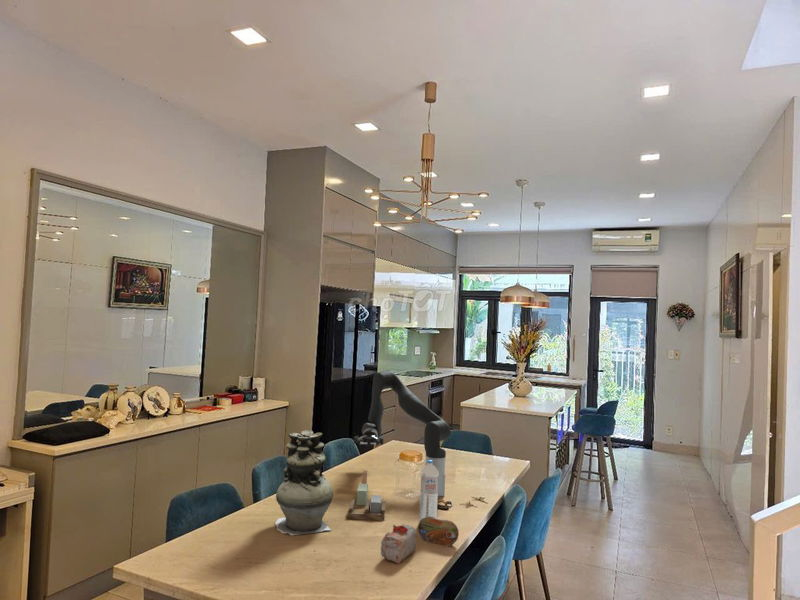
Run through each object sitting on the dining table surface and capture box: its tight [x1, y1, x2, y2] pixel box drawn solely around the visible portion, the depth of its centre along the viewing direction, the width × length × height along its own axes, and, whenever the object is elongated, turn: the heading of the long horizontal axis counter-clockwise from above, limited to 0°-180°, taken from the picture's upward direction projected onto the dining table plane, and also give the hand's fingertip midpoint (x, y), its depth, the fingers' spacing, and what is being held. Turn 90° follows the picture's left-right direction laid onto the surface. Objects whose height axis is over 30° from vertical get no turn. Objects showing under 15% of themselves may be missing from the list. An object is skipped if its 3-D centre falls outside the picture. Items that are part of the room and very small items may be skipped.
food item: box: [380, 524, 417, 565], centre depth 178 cm, size 14×8×10 cm, turn 153°
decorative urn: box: [274, 429, 334, 536], centre depth 200 cm, size 21×21×35 cm
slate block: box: [369, 494, 382, 514], centre depth 216 cm, size 4×9×6 cm, turn 0°
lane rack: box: [348, 498, 386, 521], centre depth 215 cm, size 14×12×4 cm
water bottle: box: [418, 460, 439, 523], centre depth 206 cm, size 7×7×25 cm
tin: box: [417, 517, 460, 547], centre depth 190 cm, size 15×3×8 cm, turn 62°
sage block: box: [356, 470, 369, 506], centre depth 233 cm, size 4×16×10 cm, turn 0°
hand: (368, 443), depth 252 cm, fingers open, 8 cm apart
